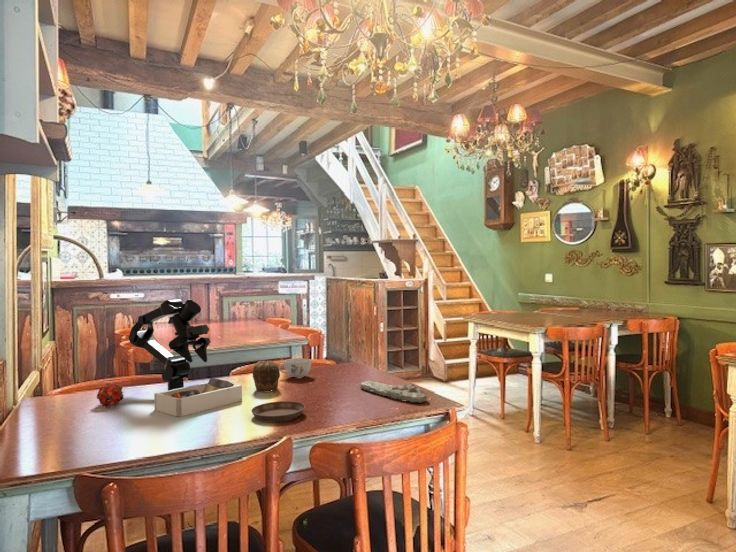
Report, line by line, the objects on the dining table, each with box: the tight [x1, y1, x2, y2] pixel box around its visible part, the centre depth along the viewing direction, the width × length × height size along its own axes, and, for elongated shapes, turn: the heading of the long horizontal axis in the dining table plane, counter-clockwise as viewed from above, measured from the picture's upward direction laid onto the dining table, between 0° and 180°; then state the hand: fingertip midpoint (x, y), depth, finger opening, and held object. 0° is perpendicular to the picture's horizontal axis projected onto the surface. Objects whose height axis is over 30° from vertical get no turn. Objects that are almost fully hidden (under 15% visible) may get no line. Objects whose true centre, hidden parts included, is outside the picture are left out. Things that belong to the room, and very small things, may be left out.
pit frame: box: [153, 381, 243, 418], centre depth 182 cm, size 15×26×6 cm, turn 142°
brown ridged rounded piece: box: [252, 360, 281, 392], centre depth 204 cm, size 11×11×12 cm
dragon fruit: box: [96, 382, 125, 408], centre depth 183 cm, size 8×8×12 cm
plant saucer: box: [250, 400, 306, 423], centre depth 167 cm, size 18×18×3 cm
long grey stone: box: [359, 380, 428, 404], centre depth 193 cm, size 35×5×10 cm
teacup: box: [278, 357, 313, 378], centre depth 228 cm, size 15×12×8 cm
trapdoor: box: [203, 377, 235, 393], centre depth 188 cm, size 12×9×3 cm
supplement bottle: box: [171, 389, 200, 399], centre depth 178 cm, size 6×6×11 cm
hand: (198, 362), depth 191 cm, fingers open, 9 cm apart
